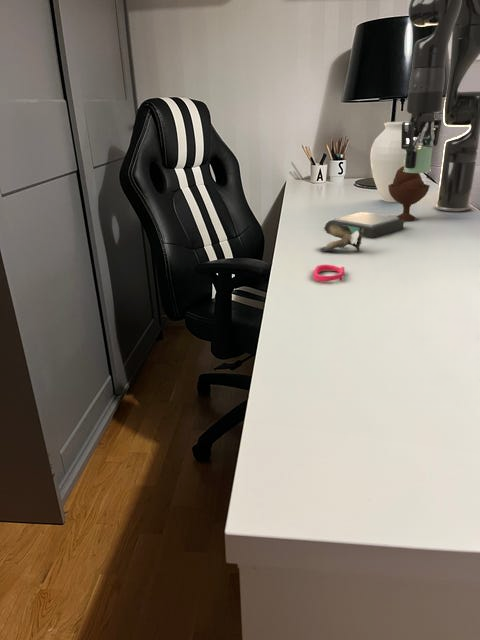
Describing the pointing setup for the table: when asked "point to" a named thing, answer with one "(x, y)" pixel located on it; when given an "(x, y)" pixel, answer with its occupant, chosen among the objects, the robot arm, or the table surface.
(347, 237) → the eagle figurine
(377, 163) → the vase
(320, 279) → the fitness band
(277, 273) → the table surface
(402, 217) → the ice cream bowl
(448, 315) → the table surface
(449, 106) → the robot arm
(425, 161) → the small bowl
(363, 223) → the scale
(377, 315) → the table surface
